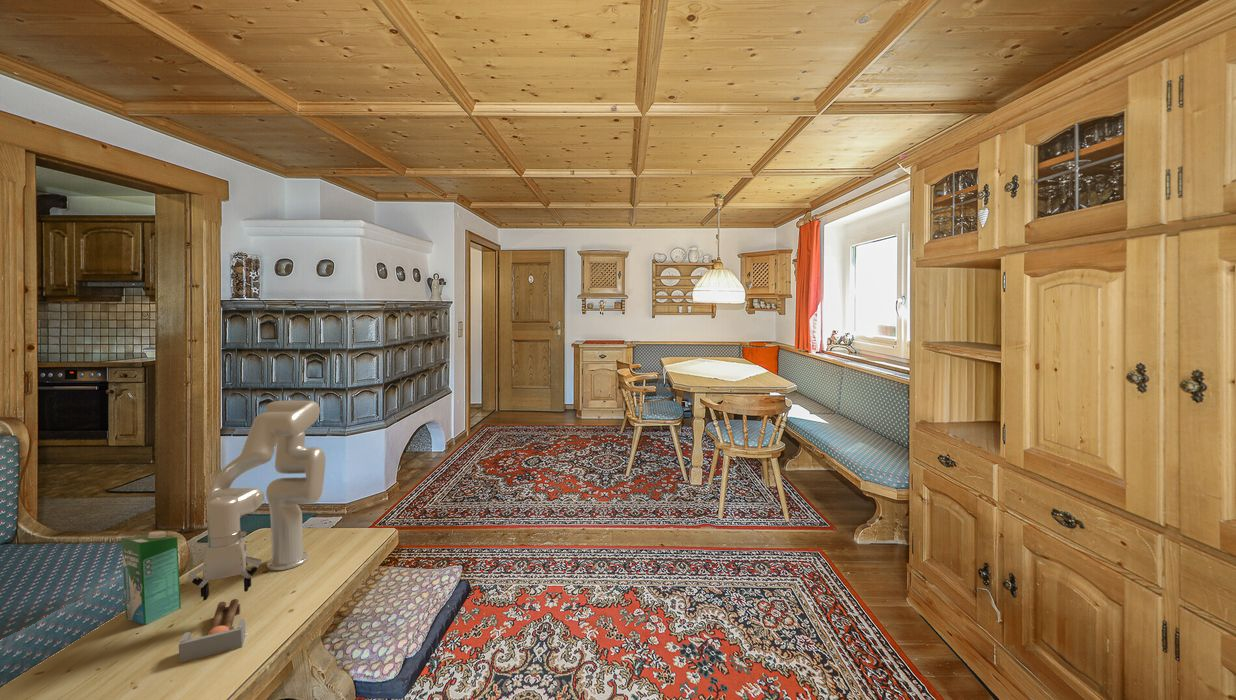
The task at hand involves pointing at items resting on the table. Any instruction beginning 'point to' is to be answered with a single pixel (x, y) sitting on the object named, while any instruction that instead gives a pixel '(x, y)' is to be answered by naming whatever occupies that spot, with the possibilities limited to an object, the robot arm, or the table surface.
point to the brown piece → (226, 614)
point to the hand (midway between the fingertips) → (226, 593)
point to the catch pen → (211, 643)
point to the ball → (218, 629)
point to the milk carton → (150, 576)
